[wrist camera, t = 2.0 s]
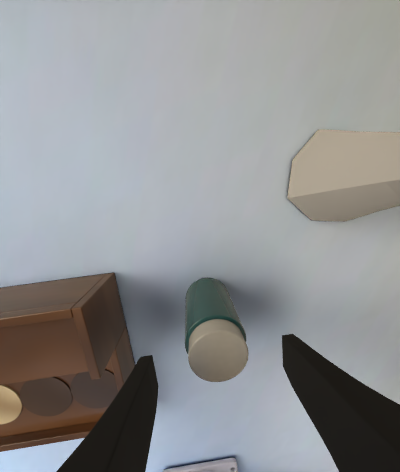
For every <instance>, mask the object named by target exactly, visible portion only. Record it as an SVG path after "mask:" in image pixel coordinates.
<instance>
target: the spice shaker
mask: <svg viewBox="0 0 400 472" xmlns="http://www.w3.org/2000/svg"><path fill="white" fill-rule="evenodd" d="M185 348H186V351H187V354H188V359H189V364H190V367H191V369H192V370H193V372H194V373H195V374H196V375H197V376H198V377H200V378H201V379H203V380H206V381H210V382H222V381H226V380H229V379H232V378H233V377H235V376H237V375H238V374H239V373H240V372H241V371H242V370H243V369H244V367H245V365H246V363H247V360H248V347H247V344H246V334H245V331H244V328H243V326H242V324H241V321H240V319H239V317H238V314H237V312H236V310H235V307H234V305H233V302H232V300H231V298H230V295H229V293H228V291H227V289H226V287H225V286H224V284H223V283H221V282H220V281H218V280H216V279H213V278H203V279H200V280H198V281H196V282H194V283H193V284H192V285H191V286H190V287H189V289H188V291H187V293H186V306H185Z"/></svg>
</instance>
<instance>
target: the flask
mask: <svg viewBox="0 0 400 472" xmlns="http://www.w3.org/2000/svg"><path fill="white" fill-rule="evenodd" d="M288 199H289V200H290V201H291V202H292V203H293V204H294V205H295V206H297V207H298V208H299V209H300V210H301V211H302V212H303V213H304V214H305V215H306V216H307V217H308V218H309V219H310V220H315V221H343V222H344V221H348V220H352V219H355V218H358V217H361V216H365V215H368V214H371V213H374V212H377V211H381V210H385V209H389V208H392V207H396V206H400V132H357V131H341V130H318V131H317V132H316V133H315V134H314V135H313V137H312V138H311V139H310V140H309V141H308V142H307V144H306V145H305V146H304V147H303V148H302V149H301V151H300V152H299V153H298V154H297V155H296V157H295V158H294V159H293V160H292V167H291V175H290V182H289V190H288Z"/></svg>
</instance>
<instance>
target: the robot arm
mask: <svg viewBox="0 0 400 472" xmlns="http://www.w3.org/2000/svg"><path fill="white" fill-rule="evenodd" d="M282 349H283V367H284V370H285V372H286V374H287V376H288V379H289V381H290V383H291V385H292V387H293V389H294V391H295V393H296V394H297V396H298V398H299V400H300V401H301V403H302V405H303V407H304V408H305V410H306V412H307V413H308V415H309V417H310V419H311V420H312V422H313V424H314V425H315V427H316V429H317V431H318V432H319V434H320V436H321V438H322V439H323V441H324V443H325V445H326V447H327V448H328V450H329V452H330V454H331V456H332V458H333V460H334V462H335V464H336V466H337V468H338V470H339V472H400V405H399V404H397V403H396V402H394V401H392V400H390V399H388V398H387V397H385V396H383V395H381V394H380V393H378V392H376V391H375V390H373V389H371V388H369V387H368V386H366V385H365V384H363V383H361V382H360V381H358V380H357V379H355V378H353V377H352V376H350V375H349V374H347V373H346V372H344V371H343V370H341V369H340V368H338V367H337V366H336V365H334V364H333V363H331V362H330V361H328V360H327V359H326V358H324V357H323V356H322V355H320V354H319V353H318V352H316V351H315V350H313V349H312V348H311V347H310V346H308V345H307V344H306V343H304V342H303V341H302V340H300V339H299V338H298V337H296V336H295V335H294V334H289V335H282ZM157 396H158V382H157V377H156V372H155V367H154V362H153V357H152V355H150V356H144V357H140V359H139V360H138V362H137V363H136V365H135V367H134V368H133V370H132V372H131V373H130V375H129V377H128V378H127V380H126V381H125V383H124V384H123V386H122V387H121V389H120V390H119V392H118V394H117V395H116V397H115V398H114V400H113V401H112V402H111V404H110V405H109V407H108V408H107V409H106V411H105V412H104V414H103V415H102V416H101V418H100V419H99V421H98V422H97V423H96V425H95V426H94V427H93V428H92V430H91V431H90V432H89V434H88V435H87V436H86V437H85V439H84V440H83V441H82V442H81V444H80V445H79V446H78V447H77V448H76V450H75V451H74V452H73V453H72V454H71V455H70V457H69V458H68V459H67V460H66V461H65V462H64V464H63V465H62V466H61V467H60V468H59V469H58V470H57V472H145V470H146V464H147V459H148V453H149V448H150V442H151V437H152V431H153V426H154V420H155V414H156V408H157ZM163 472H238V470H237V462H236V459H235V458H227V459H221V460H215V461H210V462H204V463H198V464H193V465H187V466H181V467H175V468H170V469H165V470H164V471H163Z"/></svg>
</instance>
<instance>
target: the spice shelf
mask: <svg viewBox="0 0 400 472" xmlns="http://www.w3.org/2000/svg"><path fill="white" fill-rule="evenodd" d="M134 367H135V363H134V359H133V354H132V350H131V345H130V341H129V336H128V332H127V327H126V323H125V318H124V314H123V310H122V305H121V301H120V296H119V292H118V287H117V283H116V278H115V274H114V273H108V274H99V275H92V276H84V277H77V278H69V279H62V280H55V281H47V282H40V283H32V284H25V285H17V286H10V287H2V288H0V452H2V451H8V450H14V449H20V448H26V447H32V446H38V445H44V444H50V443H56V442H62V441H68V440H74V439H80V438H85V437H86V436H87V435H88V434H89V432H90V431H91V430H92V428H93V427H94V426H95V425H96V423H97V422H98V421H99V419H100V418H101V416H102V415H103V414H104V412H105V411H106V409H107V408H108V407H109V405H110V404H111V402H112V401H113V400H114V398H115V397H116V395H117V394H118V392H119V390H120V389H121V387H122V386H123V384H124V383H125V381H126V380H127V378H128V377H129V375H130V373H131V372H132V370H133V368H134Z"/></svg>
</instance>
